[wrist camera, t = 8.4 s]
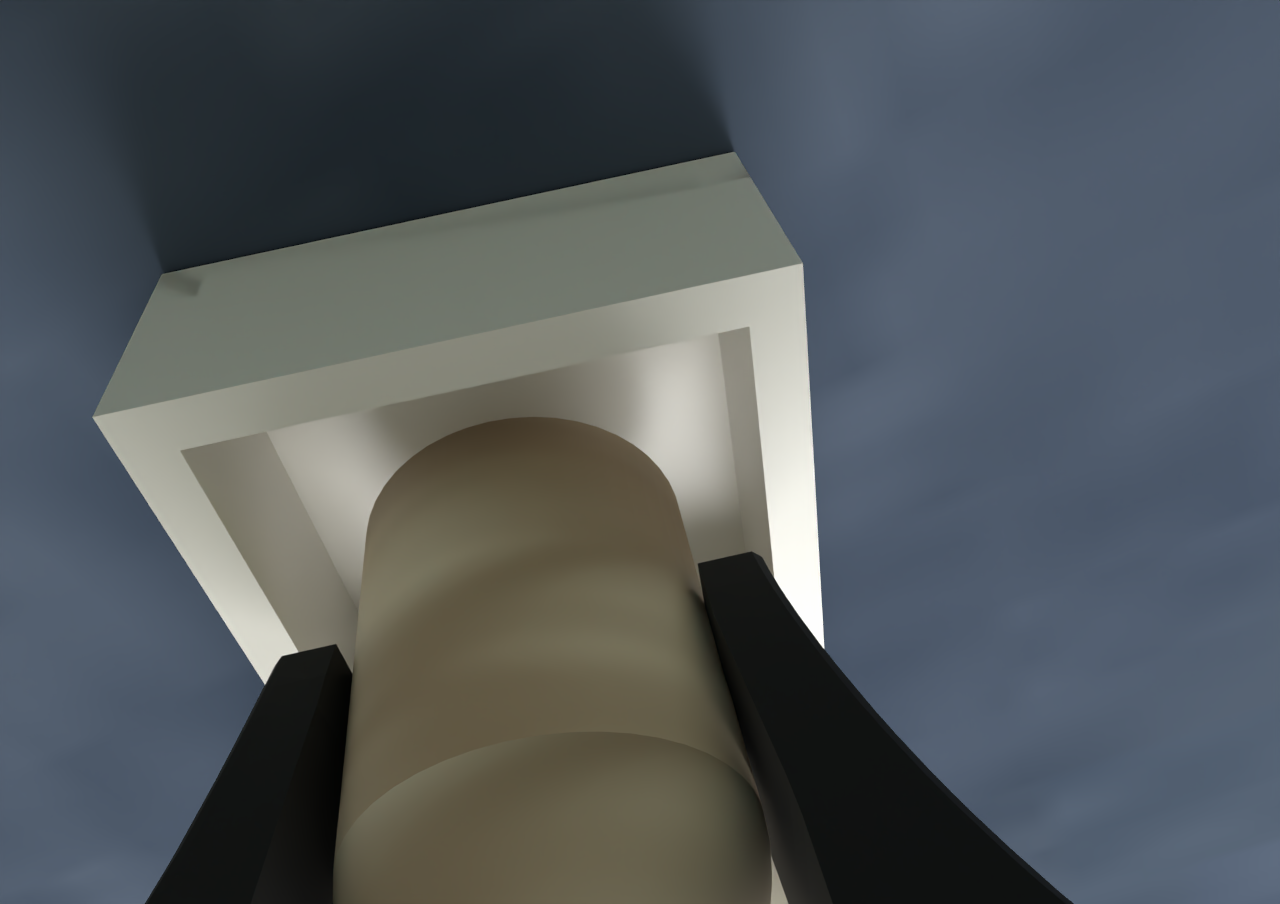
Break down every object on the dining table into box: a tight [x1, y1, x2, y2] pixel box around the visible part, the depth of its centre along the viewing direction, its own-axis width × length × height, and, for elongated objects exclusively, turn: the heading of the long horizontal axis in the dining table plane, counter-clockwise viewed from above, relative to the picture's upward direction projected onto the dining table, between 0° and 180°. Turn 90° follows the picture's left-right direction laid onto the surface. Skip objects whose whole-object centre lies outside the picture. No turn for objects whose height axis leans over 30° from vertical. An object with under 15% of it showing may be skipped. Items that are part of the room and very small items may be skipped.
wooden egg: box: [333, 417, 772, 904], centre depth 10 cm, size 4×4×6 cm
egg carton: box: [93, 152, 824, 904], centre depth 16 cm, size 7×20×7 cm, turn 9°
